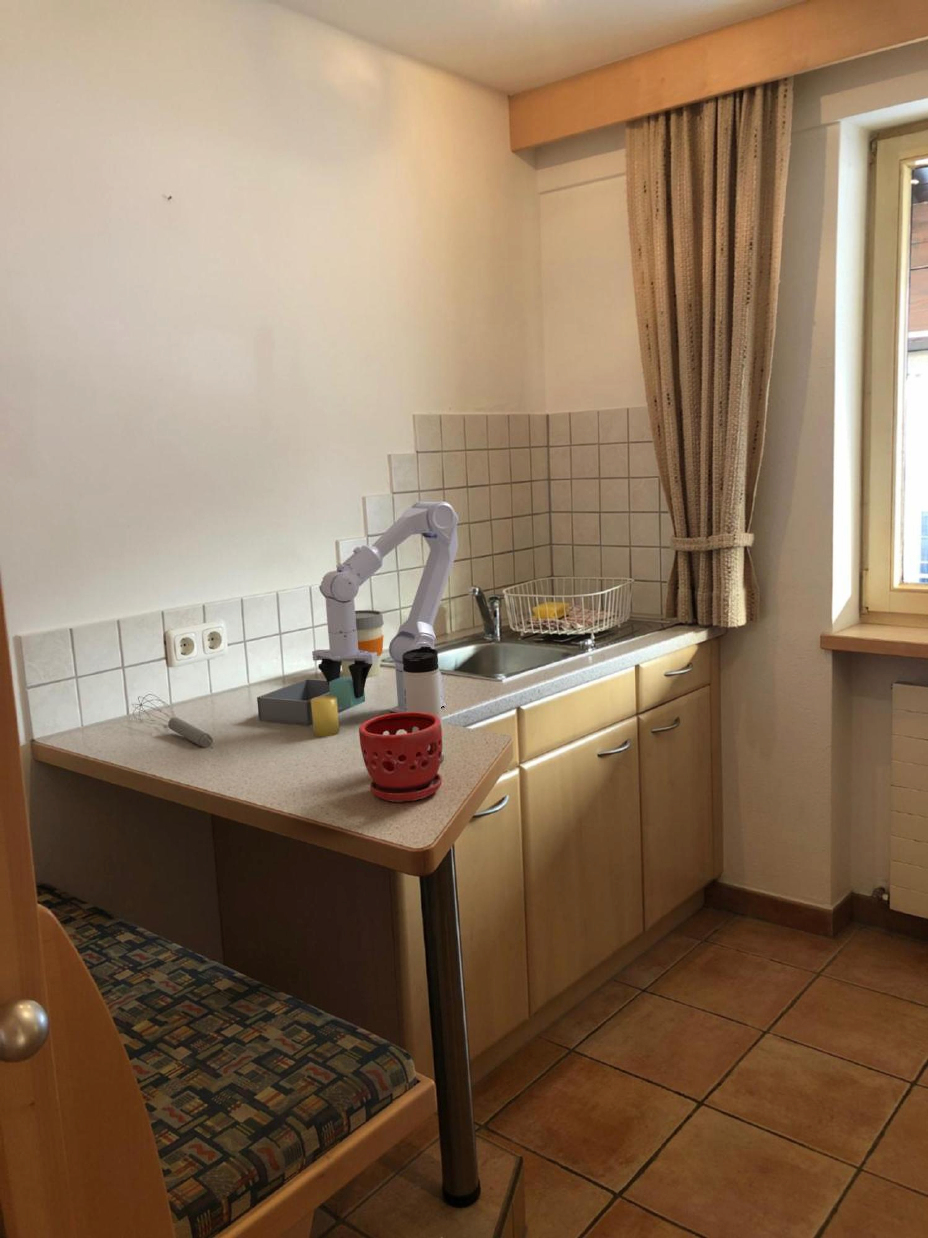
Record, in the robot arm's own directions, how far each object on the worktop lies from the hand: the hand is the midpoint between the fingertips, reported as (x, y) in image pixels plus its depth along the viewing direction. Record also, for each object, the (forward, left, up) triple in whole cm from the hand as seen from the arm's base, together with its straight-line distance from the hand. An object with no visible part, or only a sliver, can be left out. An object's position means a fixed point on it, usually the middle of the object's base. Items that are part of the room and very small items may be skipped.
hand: (347, 696), depth 207 cm
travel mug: (-28, +17, -6) cm, 33 cm away
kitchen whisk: (+31, +17, -6) cm, 36 cm away
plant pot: (-33, +33, -6) cm, 47 cm away
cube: (0, 0, -2) cm, 2 cm away
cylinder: (0, +8, -6) cm, 10 cm away
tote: (+13, -4, -6) cm, 15 cm away
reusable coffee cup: (+22, -38, -6) cm, 44 cm away
